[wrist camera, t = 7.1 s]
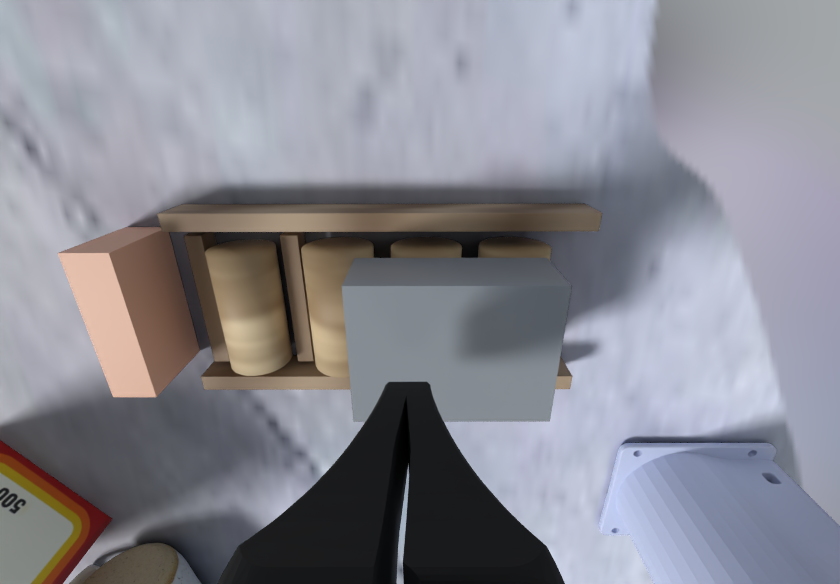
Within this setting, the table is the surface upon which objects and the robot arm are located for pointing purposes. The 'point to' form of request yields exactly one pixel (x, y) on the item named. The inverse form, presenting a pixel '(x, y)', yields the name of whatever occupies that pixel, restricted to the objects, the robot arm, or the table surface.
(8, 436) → the table surface
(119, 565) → the ceramic mug
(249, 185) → the table surface
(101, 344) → the block
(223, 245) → the roller
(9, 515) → the baking soda box
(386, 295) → the slab
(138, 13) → the table surface
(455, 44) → the table surface
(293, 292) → the roller track
